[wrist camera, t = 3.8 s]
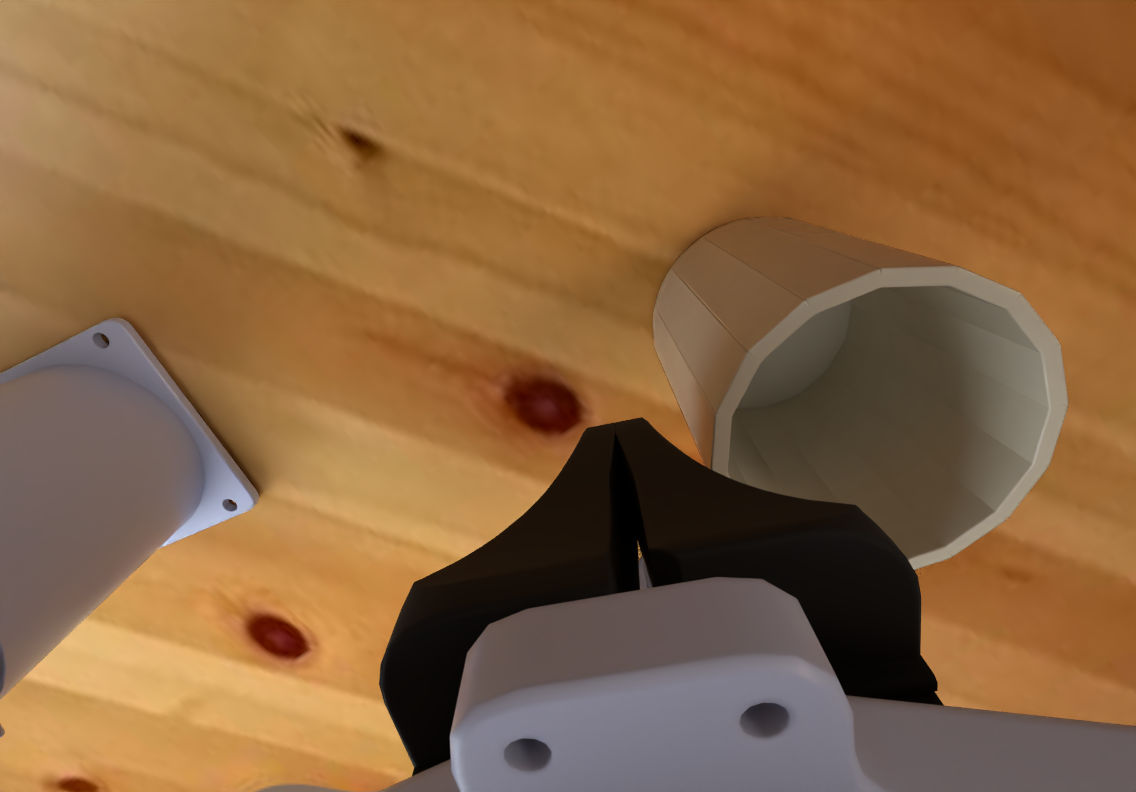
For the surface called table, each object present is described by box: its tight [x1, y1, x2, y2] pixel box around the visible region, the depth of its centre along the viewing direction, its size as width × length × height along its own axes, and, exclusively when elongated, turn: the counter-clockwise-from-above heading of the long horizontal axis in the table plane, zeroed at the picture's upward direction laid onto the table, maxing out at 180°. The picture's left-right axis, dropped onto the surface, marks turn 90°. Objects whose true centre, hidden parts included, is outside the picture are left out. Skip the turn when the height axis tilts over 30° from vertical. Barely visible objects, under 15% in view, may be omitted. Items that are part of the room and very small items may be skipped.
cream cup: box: [653, 217, 1068, 570], centre depth 16 cm, size 7×7×9 cm
